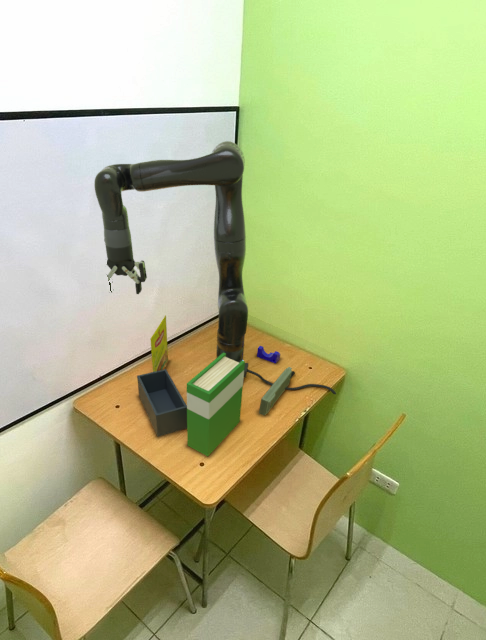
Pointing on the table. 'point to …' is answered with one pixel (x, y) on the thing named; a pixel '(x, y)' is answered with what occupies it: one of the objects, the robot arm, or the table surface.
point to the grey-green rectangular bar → (275, 391)
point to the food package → (159, 347)
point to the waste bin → (162, 402)
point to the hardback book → (214, 403)
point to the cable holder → (268, 355)
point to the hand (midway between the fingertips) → (124, 292)
